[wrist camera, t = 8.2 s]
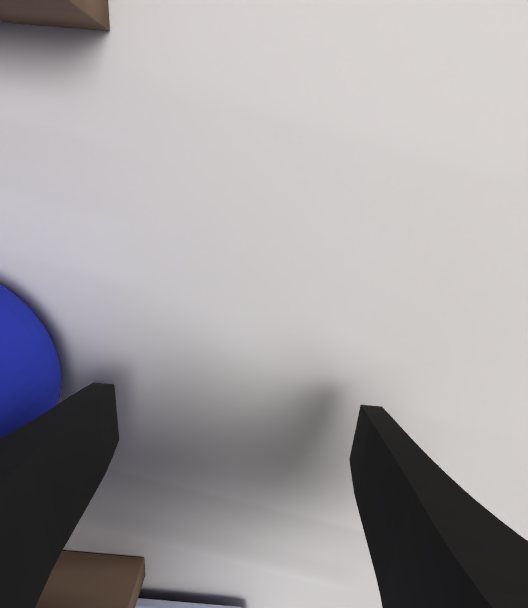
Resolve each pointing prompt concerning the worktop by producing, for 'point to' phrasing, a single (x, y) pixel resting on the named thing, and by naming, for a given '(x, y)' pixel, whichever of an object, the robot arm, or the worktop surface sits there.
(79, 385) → the worktop surface
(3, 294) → the mug
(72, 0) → the wooden tray
